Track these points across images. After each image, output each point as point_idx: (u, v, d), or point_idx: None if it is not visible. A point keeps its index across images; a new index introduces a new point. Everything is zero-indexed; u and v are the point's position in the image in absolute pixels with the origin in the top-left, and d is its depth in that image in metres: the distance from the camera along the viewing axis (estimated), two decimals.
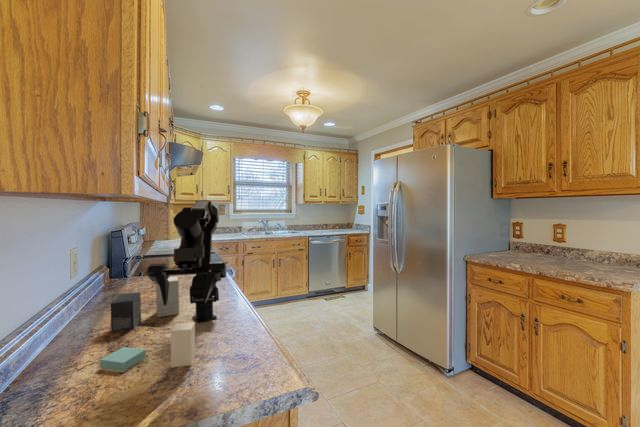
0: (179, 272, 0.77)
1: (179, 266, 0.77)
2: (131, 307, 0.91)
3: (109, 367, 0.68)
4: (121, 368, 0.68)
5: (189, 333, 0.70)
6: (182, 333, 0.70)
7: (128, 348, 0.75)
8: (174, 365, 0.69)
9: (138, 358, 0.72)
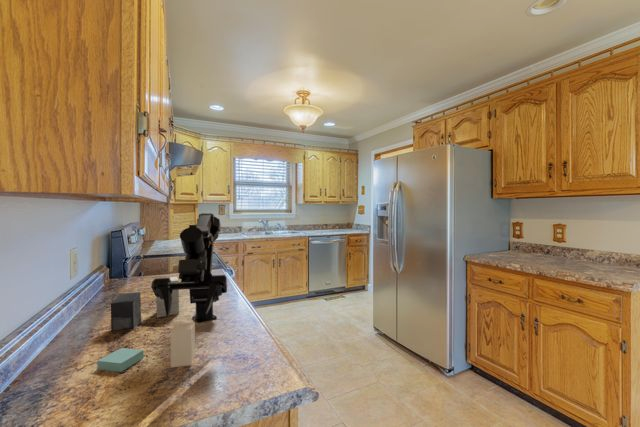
0: (182, 286, 0.81)
1: (183, 280, 0.81)
2: (131, 307, 0.91)
3: (107, 368, 0.68)
4: (119, 369, 0.67)
5: (189, 333, 0.70)
6: (182, 333, 0.70)
7: (126, 349, 0.74)
8: (174, 365, 0.69)
9: (136, 359, 0.71)
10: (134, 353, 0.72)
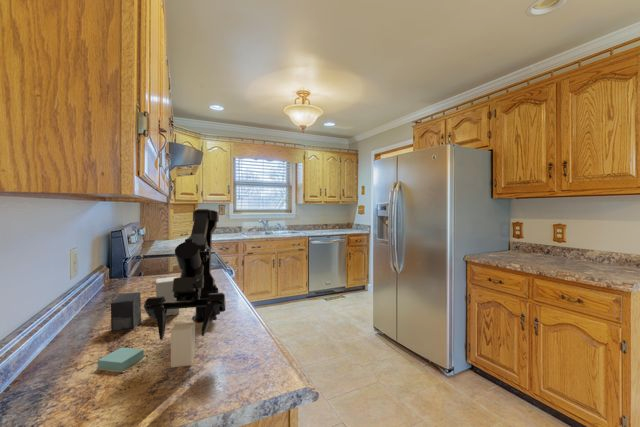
0: (177, 305, 0.75)
1: (178, 298, 0.76)
2: (131, 307, 0.91)
3: (107, 367, 0.68)
4: (119, 368, 0.68)
5: (189, 333, 0.70)
6: (182, 333, 0.70)
7: (126, 348, 0.74)
8: (174, 365, 0.69)
9: (136, 358, 0.72)
10: (134, 352, 0.72)
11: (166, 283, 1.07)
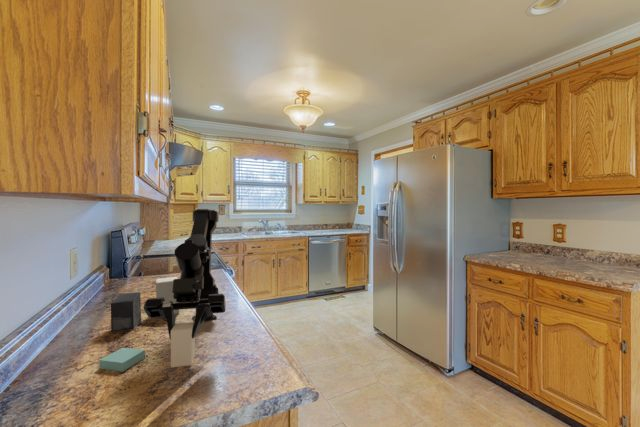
0: (177, 306, 0.75)
1: (178, 299, 0.75)
2: (131, 307, 0.91)
3: (108, 367, 0.68)
4: (120, 368, 0.68)
5: (189, 333, 0.70)
6: (182, 333, 0.70)
7: (128, 348, 0.75)
8: (174, 365, 0.69)
9: (137, 358, 0.72)
10: (136, 353, 0.72)
11: (166, 283, 1.07)
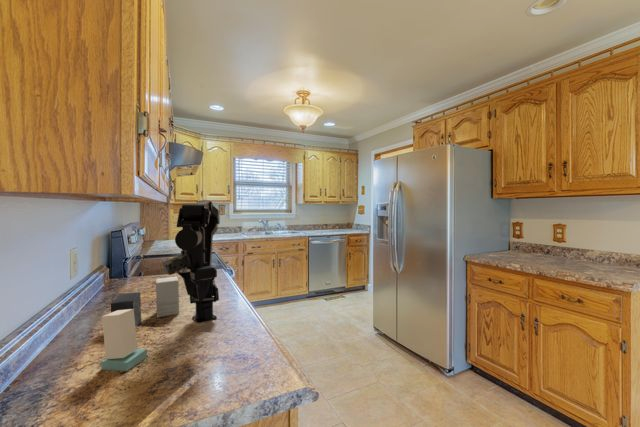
0: (190, 269, 0.89)
1: None
2: (131, 307, 0.91)
3: (111, 368, 0.68)
4: (124, 368, 0.68)
5: (117, 319, 0.69)
6: (111, 318, 0.69)
7: None
8: (108, 351, 0.69)
9: (140, 358, 0.72)
10: (138, 352, 0.72)
11: (166, 283, 1.07)
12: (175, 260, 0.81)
